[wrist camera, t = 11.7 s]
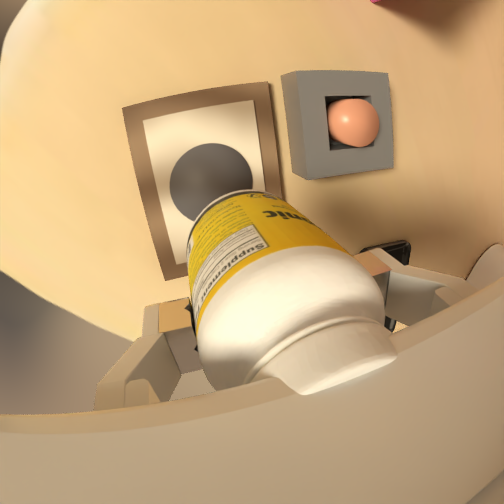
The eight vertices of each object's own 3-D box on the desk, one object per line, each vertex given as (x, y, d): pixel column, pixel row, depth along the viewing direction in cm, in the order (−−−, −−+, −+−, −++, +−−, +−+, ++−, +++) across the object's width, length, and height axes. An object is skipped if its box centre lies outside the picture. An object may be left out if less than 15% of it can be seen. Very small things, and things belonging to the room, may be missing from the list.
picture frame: (284, 248, 30) (288, 253, 29) (165, 276, 29) (165, 282, 28) (264, 82, 23) (268, 81, 22) (123, 108, 21) (121, 107, 20)
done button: (361, 140, 26) (380, 145, 23) (323, 144, 25) (340, 149, 22) (358, 98, 24) (377, 99, 21) (318, 100, 23) (336, 99, 20)
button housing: (372, 160, 29) (393, 167, 26) (292, 172, 27) (307, 180, 24) (366, 75, 24) (387, 73, 21) (280, 75, 23) (295, 70, 20)
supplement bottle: (321, 240, 15) (459, 380, 6) (242, 312, 16) (309, 488, 7) (248, 159, 12) (407, 269, 4) (160, 247, 13) (157, 459, 5)
